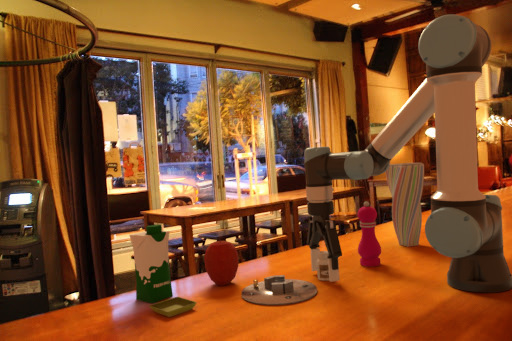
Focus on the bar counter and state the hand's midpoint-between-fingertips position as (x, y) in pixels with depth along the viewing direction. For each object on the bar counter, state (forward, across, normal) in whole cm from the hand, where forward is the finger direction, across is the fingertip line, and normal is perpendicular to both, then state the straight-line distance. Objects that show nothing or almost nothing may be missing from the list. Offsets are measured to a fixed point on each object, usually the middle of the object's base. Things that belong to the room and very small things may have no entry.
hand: (325, 275), depth 130 cm
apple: (+1, +10, +28) cm, 30 cm away
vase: (+1, +26, -45) cm, 52 cm away
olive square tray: (+2, -7, +44) cm, 45 cm away
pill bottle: (+1, 0, 0) cm, 1 cm away
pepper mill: (+1, +8, -19) cm, 21 cm away
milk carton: (+1, +6, +48) cm, 48 cm away
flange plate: (+1, -6, +16) cm, 17 cm away
